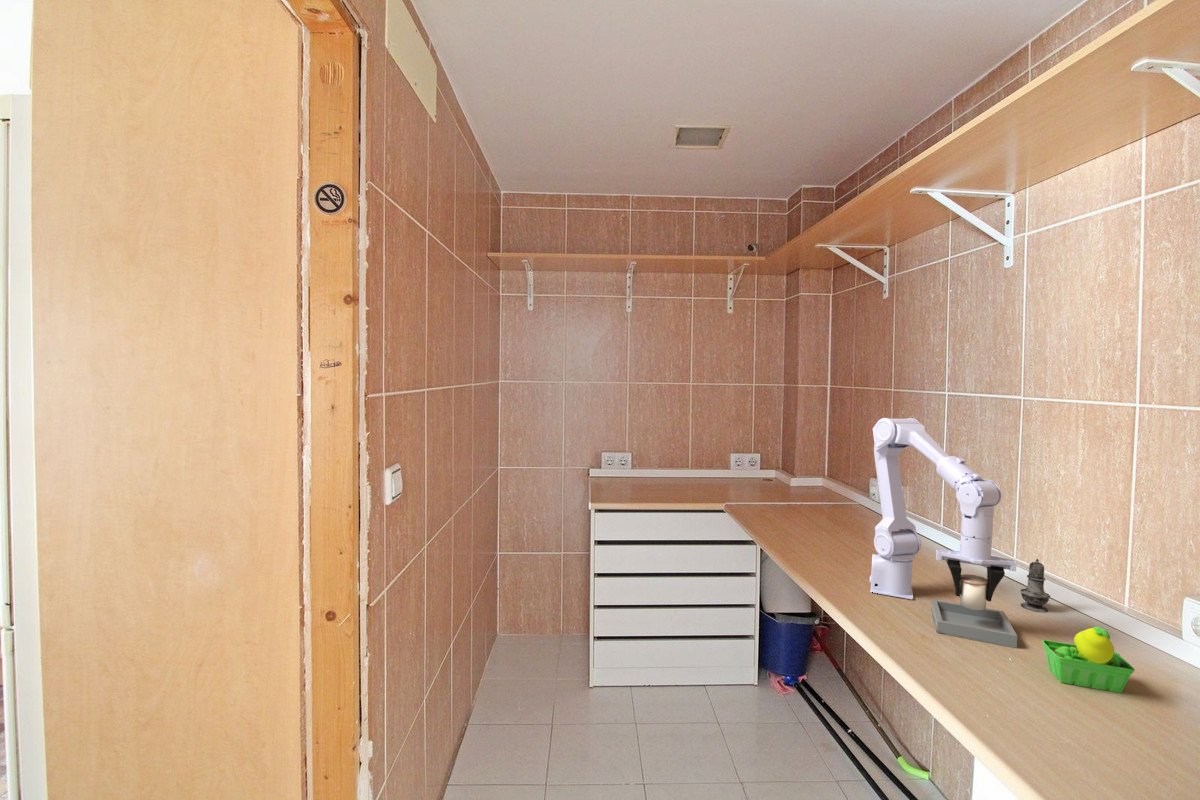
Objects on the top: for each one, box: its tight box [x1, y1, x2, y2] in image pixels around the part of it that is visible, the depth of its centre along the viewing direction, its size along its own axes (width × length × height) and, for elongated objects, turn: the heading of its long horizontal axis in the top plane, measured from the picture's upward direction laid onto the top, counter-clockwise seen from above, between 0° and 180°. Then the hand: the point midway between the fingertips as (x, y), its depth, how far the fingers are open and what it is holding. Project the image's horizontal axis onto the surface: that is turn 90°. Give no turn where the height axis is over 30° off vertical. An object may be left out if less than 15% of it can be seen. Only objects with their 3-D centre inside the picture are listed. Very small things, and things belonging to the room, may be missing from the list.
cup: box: [959, 573, 988, 610], centre depth 125 cm, size 5×5×6 cm
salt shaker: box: [1019, 558, 1051, 613], centre depth 137 cm, size 6×6×12 cm
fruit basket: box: [1041, 626, 1135, 694], centre depth 103 cm, size 11×9×11 cm
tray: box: [930, 598, 1018, 649], centre depth 125 cm, size 14×14×2 cm
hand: (972, 597), depth 125 cm, fingers closed on cup, 5 cm apart
